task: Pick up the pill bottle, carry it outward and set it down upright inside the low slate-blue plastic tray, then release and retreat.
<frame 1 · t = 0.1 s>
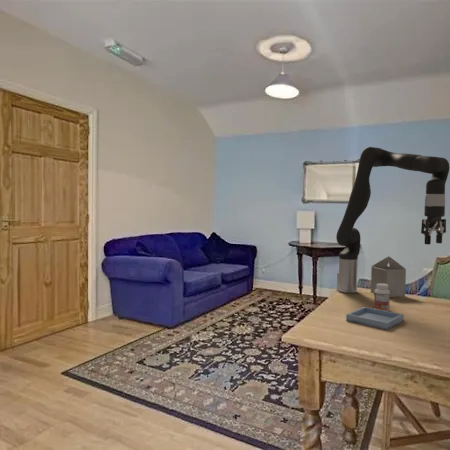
hand: (433, 243, 163), 29 cm above the table, fingers open, 8 cm apart
tray: (374, 320, 152), on the table
planter: (386, 295, 194), on the table
pill bottle: (381, 310, 168), on the table
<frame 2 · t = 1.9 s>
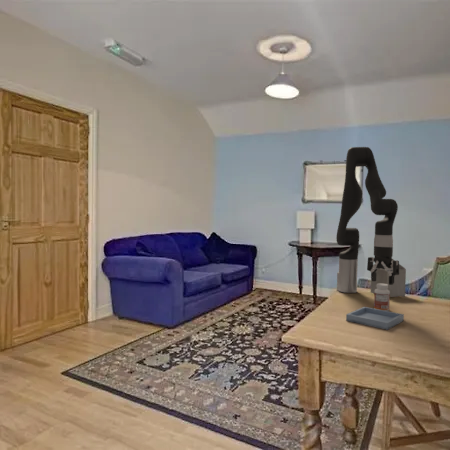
hand: (382, 282, 167), 12 cm above the table, fingers open, 8 cm apart
nothing on the table moved.
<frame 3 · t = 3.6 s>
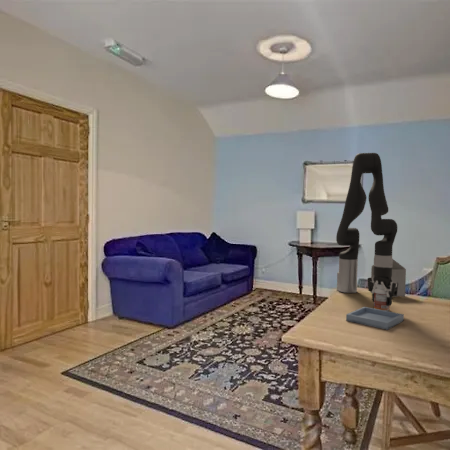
hand: (381, 303, 167), 3 cm above the table, fingers closed on pill bottle, 6 cm apart
pill bottle: (381, 310, 168), on the table, touching gripper
everything else where it was.
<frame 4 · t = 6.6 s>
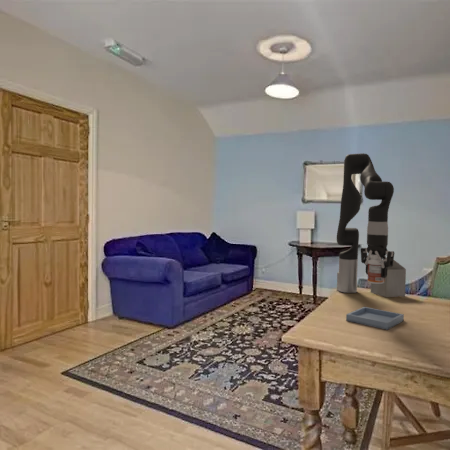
hand: (376, 275, 151), 18 cm above the table, fingers closed on pill bottle, 6 cm apart
pill bottle: (375, 283, 151), point 15 cm above the table, touching gripper
everything else where it was.
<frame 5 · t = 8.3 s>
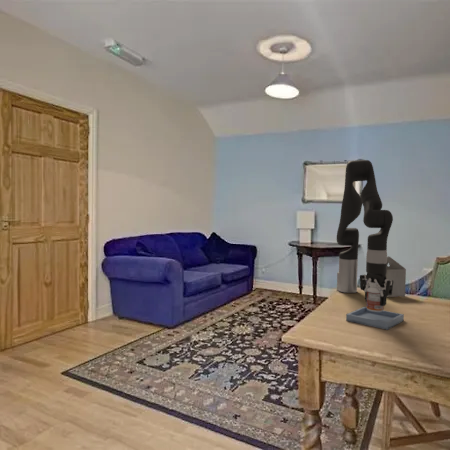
hand: (375, 303, 151), 7 cm above the table, fingers closed on pill bottle, 6 cm apart
pill bottle: (375, 310, 152), point 4 cm above the table, touching gripper
everything else where it was.
when the fingers open (4 cm above the table, at t = 9.8 s): pill bottle stays where it is, resting on tray.
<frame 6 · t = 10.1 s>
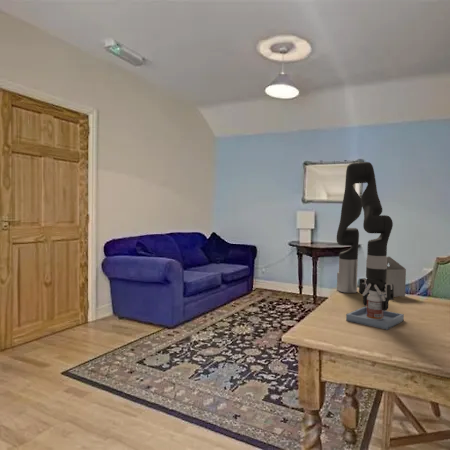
hand: (375, 307, 151), 5 cm above the table, fingers open, 8 cm apart
pill bottle: (374, 318, 152), point 1 cm above the table, touching tray
everything else where it was.
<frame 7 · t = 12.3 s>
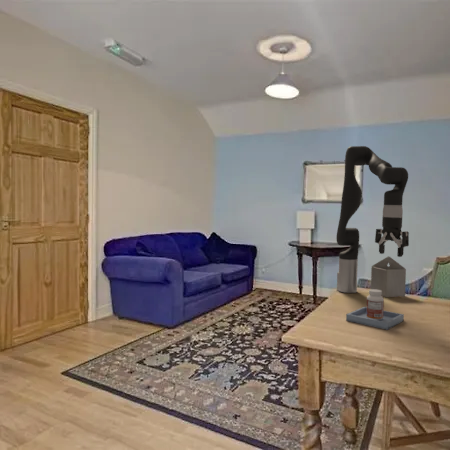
hand: (390, 255, 161), 25 cm above the table, fingers open, 8 cm apart
nothing on the table moved.
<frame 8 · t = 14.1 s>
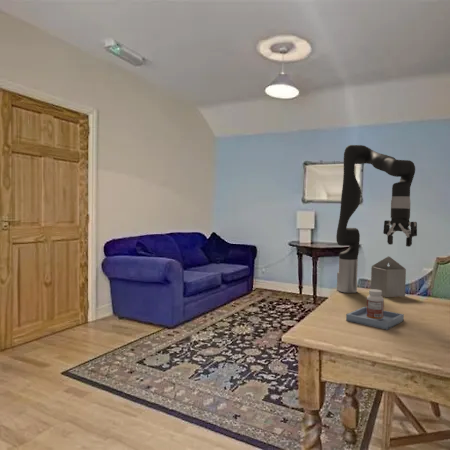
hand: (399, 245, 165), 28 cm above the table, fingers open, 8 cm apart
nothing on the table moved.
at the end: pill bottle 0.2 cm from the tray (horizontally); pill bottle point 0.6 cm above the table; pill bottle tilted 0° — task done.
